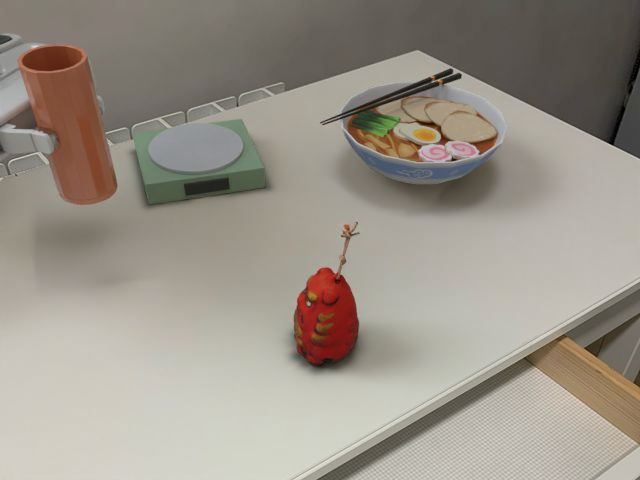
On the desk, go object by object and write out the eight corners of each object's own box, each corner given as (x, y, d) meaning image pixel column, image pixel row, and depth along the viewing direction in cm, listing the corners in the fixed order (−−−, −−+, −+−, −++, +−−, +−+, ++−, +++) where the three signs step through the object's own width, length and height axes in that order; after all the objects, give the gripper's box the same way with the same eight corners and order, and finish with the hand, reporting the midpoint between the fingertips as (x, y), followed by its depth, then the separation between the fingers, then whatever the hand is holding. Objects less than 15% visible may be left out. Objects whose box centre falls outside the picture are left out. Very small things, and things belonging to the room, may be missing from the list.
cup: (63, 209, 67) (21, 77, 57) (55, 179, 71) (14, 49, 61) (122, 198, 69) (91, 67, 59) (111, 169, 72) (80, 40, 62)
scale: (149, 206, 89) (144, 182, 86) (136, 152, 97) (131, 129, 95) (265, 188, 92) (264, 165, 89) (243, 138, 100) (241, 115, 98)
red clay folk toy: (287, 326, 75) (284, 208, 63) (347, 317, 76) (355, 200, 64) (302, 375, 70) (301, 257, 58) (366, 364, 71) (378, 247, 59)
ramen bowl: (401, 238, 85) (409, 179, 79) (299, 160, 97) (298, 104, 90) (535, 178, 95) (551, 121, 88) (427, 114, 106) (435, 59, 100)
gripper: (-133, 109, 59) (-7, 143, 56) (19, 26, 71) (129, 50, 68) (-99, 175, 64) (18, 209, 61) (37, 86, 76) (141, 111, 73)
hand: (78, 124), depth 64 cm, fingers closed on cup, 6 cm apart
